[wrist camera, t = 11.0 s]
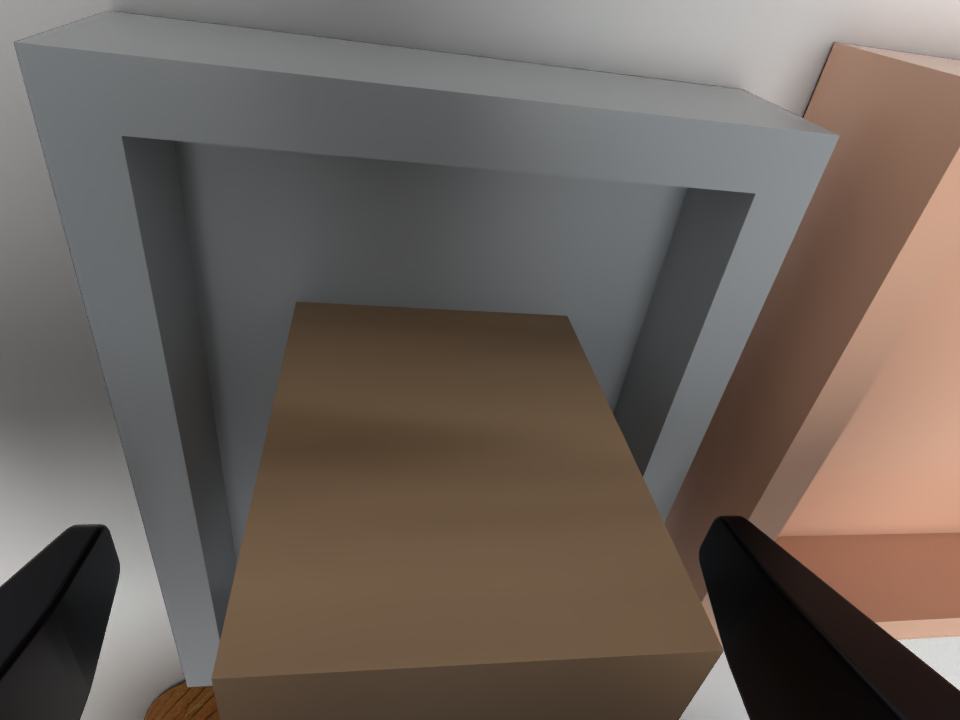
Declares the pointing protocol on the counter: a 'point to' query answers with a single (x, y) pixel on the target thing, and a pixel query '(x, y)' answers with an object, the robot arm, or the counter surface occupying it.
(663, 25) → the counter surface
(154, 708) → the disposable coffee cup
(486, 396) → the block
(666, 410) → the tray
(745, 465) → the dish
